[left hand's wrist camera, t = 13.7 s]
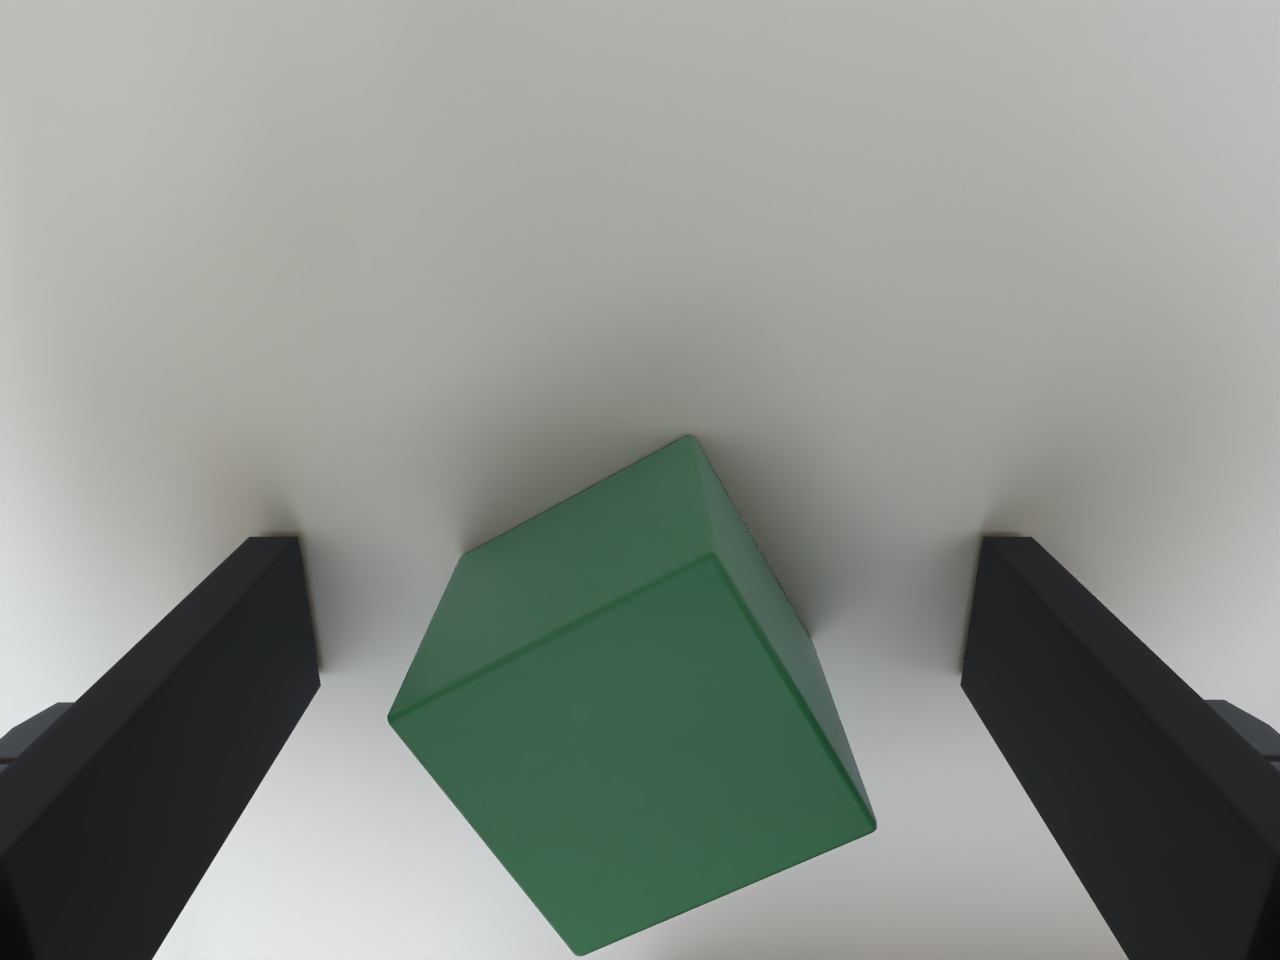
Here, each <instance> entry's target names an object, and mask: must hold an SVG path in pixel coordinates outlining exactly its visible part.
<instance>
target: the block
mask: <svg viewBox="0 0 1280 960" xmlns="http://www.w3.org/2000/svg"><path fill="white" fill-rule="evenodd" d="M388 722H389V724H390V725H391V727H392V728H393V729H394V730H395V732H396V733H397V734H398V735H399V737H400V738H401V739H402V740H403V742H404V743H405V744H406V745H407V747H408V748H409V749H410V750H411V752H412V753H413V754H414V755H415V757H416V758H417V759H418V760H419V761H420V763H421V764H422V765H423V766H424V768H425V769H426V770H427V771H428V773H429V774H430V775H431V776H432V778H433V779H434V780H435V781H436V783H437V784H438V785H439V786H440V788H441V789H442V790H443V791H444V793H445V794H446V795H447V796H448V798H449V799H450V800H451V801H452V802H453V804H454V805H455V806H456V807H457V809H458V810H459V811H460V812H461V814H462V815H463V816H464V817H465V819H466V820H467V821H468V822H469V824H470V825H471V826H472V827H473V829H474V830H475V831H476V832H477V834H478V835H479V836H480V837H481V839H482V840H483V841H484V842H485V843H486V845H487V846H488V847H489V848H490V850H491V851H492V852H493V853H494V855H495V856H496V857H497V858H498V860H499V861H500V862H501V863H502V865H503V866H504V867H505V868H506V870H507V871H508V872H509V873H510V875H511V876H512V877H513V878H514V880H515V881H516V882H517V883H518V884H519V886H520V887H521V888H522V889H523V891H524V892H525V893H526V894H527V896H528V897H529V898H530V899H531V901H532V902H533V903H534V904H535V906H536V907H537V908H538V909H539V911H540V912H541V913H542V914H543V916H544V917H545V918H546V919H547V921H548V922H549V923H550V924H551V925H552V927H553V928H554V929H555V930H556V932H557V933H558V934H559V935H560V937H561V938H562V939H563V940H564V942H565V943H566V944H567V945H568V947H569V948H570V949H571V950H572V952H573V953H574V954H575V955H577V956H583V955H586V954H588V953H591V952H593V951H595V950H598V949H600V948H602V947H605V946H607V945H609V944H612V943H614V942H616V941H619V940H621V939H623V938H626V937H628V936H630V935H633V934H635V933H638V932H640V931H642V930H645V929H647V928H649V927H652V926H654V925H656V924H659V923H661V922H663V921H666V920H668V919H670V918H673V917H675V916H677V915H680V914H682V913H684V912H687V911H689V910H692V909H694V908H696V907H699V906H701V905H703V904H706V903H708V902H710V901H713V900H715V899H717V898H720V897H722V896H724V895H727V894H729V893H731V892H734V891H736V890H739V889H741V888H743V887H746V886H748V885H750V884H753V883H755V882H757V881H760V880H762V879H764V878H767V877H769V876H771V875H774V874H776V873H778V872H781V871H783V870H786V869H788V868H790V867H793V866H795V865H797V864H800V863H802V862H804V861H807V860H809V859H811V858H814V857H816V856H818V855H821V854H823V853H825V852H828V851H830V850H833V849H835V848H837V847H840V846H842V845H844V844H847V843H849V842H851V841H854V840H856V839H858V838H861V837H863V836H865V835H868V834H870V833H872V832H874V831H875V830H876V828H877V822H876V818H875V816H874V813H873V810H872V807H871V804H870V802H869V799H868V796H867V793H866V790H865V788H864V785H863V782H862V779H861V776H860V774H859V771H858V768H857V765H856V762H855V760H854V757H853V754H852V751H851V748H850V746H849V743H848V740H847V737H846V735H845V732H844V729H843V726H842V723H841V721H840V718H839V715H838V712H837V709H836V707H835V704H834V701H833V698H832V695H831V693H830V690H829V687H828V684H827V681H826V679H825V676H824V673H823V670H822V667H821V665H820V662H819V659H818V656H817V653H816V651H815V648H814V645H813V642H812V640H811V639H810V637H809V635H808V633H807V632H806V630H805V628H804V626H803V625H802V623H801V621H800V619H799V618H798V616H797V614H796V612H795V611H794V609H793V607H792V605H791V604H790V602H789V600H788V598H787V597H786V595H785V593H784V591H783V590H782V588H781V586H780V584H779V583H778V581H777V579H776V578H775V576H774V574H773V572H772V571H771V569H770V567H769V565H768V564H767V562H766V560H765V558H764V557H763V555H762V553H761V551H760V550H759V548H758V546H757V544H756V543H755V541H754V539H753V537H752V536H751V534H750V532H749V530H748V529H747V527H746V525H745V523H744V522H743V520H742V518H741V516H740V515H739V513H738V511H737V509H736V508H735V506H734V504H733V502H732V501H731V499H730V497H729V495H728V494H727V492H726V490H725V488H724V487H723V485H722V483H721V481H720V480H719V478H718V476H717V474H716V473H715V471H714V469H713V467H712V466H711V464H710V462H709V460H708V459H707V457H706V455H705V453H704V452H703V450H702V448H701V446H700V445H699V443H698V441H697V440H696V438H695V437H694V436H692V435H687V436H685V437H683V438H681V439H679V440H678V441H676V442H674V443H672V444H670V445H668V446H666V447H664V448H663V449H661V450H659V451H657V452H655V453H653V454H651V455H650V456H648V457H646V458H644V459H642V460H640V461H638V462H637V463H635V464H633V465H631V466H629V467H627V468H625V469H624V470H622V471H620V472H618V473H616V474H614V475H612V476H610V477H609V478H607V479H605V480H603V481H601V482H599V483H597V484H596V485H594V486H592V487H590V488H588V489H586V490H584V491H583V492H581V493H579V494H577V495H575V496H573V497H571V498H570V499H568V500H566V501H564V502H562V503H560V504H558V505H557V506H555V507H553V508H551V509H549V510H547V511H545V512H543V513H542V514H540V515H538V516H536V517H534V518H532V519H530V520H529V521H527V522H525V523H523V524H521V525H519V526H517V527H516V528H514V529H512V530H510V531H508V532H506V533H504V534H503V535H501V536H499V537H497V538H495V539H493V540H491V541H490V542H488V543H486V544H484V545H482V546H480V547H478V548H476V549H475V550H473V551H471V552H469V553H467V554H465V555H463V556H462V557H461V558H460V559H459V561H458V564H457V566H456V568H455V570H454V572H453V574H452V577H451V579H450V581H449V583H448V585H447V588H446V590H445V592H444V594H443V596H442V598H441V601H440V603H439V605H438V607H437V609H436V612H435V614H434V616H433V618H432V620H431V622H430V625H429V627H428V629H427V631H426V633H425V636H424V638H423V640H422V642H421V644H420V646H419V649H418V651H417V653H416V655H415V657H414V659H413V662H412V664H411V666H410V668H409V670H408V673H407V675H406V677H405V679H404V681H403V683H402V686H401V688H400V690H399V692H398V694H397V697H396V699H395V701H394V703H393V705H392V707H391V710H390V712H389V714H388Z"/></svg>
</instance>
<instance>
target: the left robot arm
mask: <svg viewBox="0 0 1280 960" xmlns="http://www.w3.org/2000/svg"><path fill="white" fill-rule="evenodd" d="M320 686H321V685H320V678H319V672H318V665H317V659H316V652H315V646H314V639H313V633H312V626H311V620H310V613H309V607H308V600H307V593H306V587H305V580H304V574H303V567H302V561H301V554H300V548H299V541H298V537H249V538H248V539H247V540H246V541H245V542H244V543H243V544H241V545H240V546H239V547H238V548H237V549H236V550H235V551H234V552H233V553H232V554H231V555H230V556H229V557H228V558H227V559H226V560H225V561H224V562H222V563H221V564H220V565H219V566H218V567H217V568H216V569H215V570H214V571H213V572H212V573H211V574H210V575H209V576H208V577H207V578H206V579H205V580H203V581H202V582H201V583H200V584H199V585H198V586H197V587H196V588H195V589H194V590H193V591H192V592H191V593H190V594H189V595H188V596H187V597H186V598H184V599H183V600H182V601H181V602H180V603H179V604H178V605H177V606H176V607H175V608H174V609H173V610H172V611H171V612H170V613H169V614H168V615H167V616H165V617H164V618H163V619H162V620H161V621H160V622H159V623H158V624H157V625H156V626H155V627H154V628H153V629H152V630H151V631H150V632H149V633H148V634H146V635H145V636H144V637H143V638H142V639H141V640H140V641H139V642H138V643H137V644H136V645H135V646H134V647H133V648H132V649H131V650H130V651H129V652H127V653H126V654H125V655H124V656H123V657H122V658H121V659H120V660H119V661H118V662H117V663H116V664H115V665H114V666H113V667H112V668H111V669H110V670H109V671H107V672H106V673H105V674H104V675H103V676H102V677H101V678H100V679H99V680H98V681H97V682H96V683H95V684H94V685H93V686H92V687H91V688H90V689H88V690H87V691H86V692H85V693H84V694H83V695H82V696H81V697H80V698H79V699H78V700H77V701H76V702H75V703H56V704H54V705H53V706H51V707H49V708H47V709H46V710H44V711H42V712H40V713H39V714H37V715H35V716H33V717H31V718H30V719H28V720H26V721H24V722H23V723H21V724H19V725H17V726H16V727H14V728H12V729H11V730H10V731H9V732H8V733H7V734H6V735H4V736H3V737H2V738H1V739H0V960H152V959H153V957H154V955H155V954H156V952H157V950H158V949H159V947H160V946H161V944H162V942H163V941H164V939H165V937H166V936H167V934H168V933H169V931H170V929H171V928H172V926H173V924H174V923H175V921H176V920H177V918H178V916H179V915H180V913H181V911H182V910H183V908H184V907H185V905H186V903H187V902H188V900H189V898H190V897H191V895H192V894H193V892H194V890H195V889H196V887H197V885H198V884H199V882H200V881H201V879H202V877H203V876H204V874H205V872H206V871H207V869H208V868H209V866H210V864H211V863H212V861H213V859H214V858H215V856H216V855H217V853H218V851H219V850H220V848H221V846H222V845H223V843H224V842H225V840H226V838H227V837H228V835H229V833H230V832H231V830H232V829H233V827H234V825H235V824H236V822H237V820H238V819H239V817H240V816H241V814H242V812H243V811H244V809H245V808H246V806H247V804H248V803H249V801H250V799H251V798H252V796H253V795H254V793H255V791H256V790H257V788H258V786H259V785H260V783H261V782H262V780H263V778H264V777H265V775H266V773H267V772H268V770H269V769H270V767H271V765H272V764H273V762H274V760H275V759H276V757H277V756H278V754H279V752H280V751H281V749H282V747H283V746H284V744H285V743H286V741H287V739H288V738H289V736H290V734H291V733H292V731H293V730H294V728H295V726H296V725H297V723H298V721H299V720H300V718H301V717H302V715H303V713H304V712H305V710H306V708H307V707H308V705H309V704H310V702H311V700H312V699H313V697H314V695H315V694H316V692H317V691H318V689H319V687H320ZM960 686H961V687H962V689H963V691H964V692H965V694H966V695H967V697H968V699H969V700H970V702H971V704H972V705H973V707H974V708H975V710H976V712H977V713H978V715H979V717H980V718H981V720H982V721H983V723H984V725H985V726H986V728H987V730H988V731H989V733H990V734H991V736H992V738H993V739H994V741H995V743H996V744H997V746H998V747H999V749H1000V751H1001V752H1002V754H1003V756H1004V757H1005V759H1006V760H1007V762H1008V764H1009V765H1010V767H1011V769H1012V770H1013V772H1014V773H1015V775H1016V777H1017V778H1018V780H1019V782H1020V783H1021V785H1022V786H1023V788H1024V790H1025V791H1026V793H1027V794H1028V796H1029V798H1030V799H1031V801H1032V803H1033V804H1034V806H1035V807H1036V809H1037V811H1038V812H1039V814H1040V816H1041V817H1042V819H1043V820H1044V822H1045V824H1046V825H1047V827H1048V829H1049V830H1050V832H1051V833H1052V835H1053V837H1054V838H1055V840H1056V842H1057V843H1058V845H1059V846H1060V848H1061V850H1062V851H1063V853H1064V855H1065V856H1066V858H1067V859H1068V861H1069V863H1070V864H1071V866H1072V868H1073V869H1074V871H1075V872H1076V874H1077V876H1078V877H1079V879H1080V881H1081V882H1082V884H1083V885H1084V887H1085V889H1086V890H1087V892H1088V894H1089V895H1090V897H1091V898H1092V900H1093V902H1094V903H1095V905H1096V907H1097V908H1098V910H1099V911H1100V913H1101V915H1102V916H1103V918H1104V920H1105V921H1106V923H1107V924H1108V926H1109V928H1110V929H1111V931H1112V933H1113V934H1114V936H1115V937H1116V939H1117V941H1118V942H1119V944H1120V946H1121V947H1122V949H1123V950H1124V952H1125V954H1126V955H1127V957H1128V959H1129V960H1280V734H1279V733H1278V732H1276V731H1275V730H1274V729H1273V728H1272V727H1271V726H1270V725H1268V724H1266V723H1264V722H1262V721H1261V720H1259V719H1257V718H1255V717H1254V716H1252V715H1250V714H1248V713H1247V712H1245V711H1243V710H1241V709H1239V708H1238V707H1236V706H1234V705H1232V704H1231V703H1229V702H1227V701H1225V700H1203V699H1202V698H1201V697H1200V696H1199V695H1198V694H1197V693H1196V692H1195V691H1194V690H1193V689H1192V688H1191V687H1189V686H1188V685H1187V684H1186V683H1185V682H1184V681H1183V680H1182V679H1181V678H1180V677H1179V676H1178V675H1177V674H1176V673H1175V672H1174V671H1173V670H1172V669H1170V668H1169V667H1168V666H1167V665H1166V664H1165V663H1164V662H1163V661H1162V660H1161V659H1160V658H1159V657H1158V656H1157V655H1156V654H1155V653H1154V652H1153V651H1151V650H1150V649H1149V648H1148V647H1147V646H1146V645H1145V644H1144V643H1143V642H1142V641H1141V640H1140V639H1139V638H1138V637H1137V636H1136V635H1135V634H1134V633H1132V632H1131V631H1130V630H1129V629H1128V628H1127V627H1126V626H1125V625H1124V624H1123V623H1122V622H1121V621H1120V620H1119V619H1118V618H1117V617H1116V616H1115V615H1113V614H1112V613H1111V612H1110V611H1109V610H1108V609H1107V608H1106V607H1105V606H1104V605H1103V604H1102V603H1101V602H1100V601H1099V600H1098V599H1097V598H1096V597H1094V596H1093V595H1092V594H1091V593H1090V592H1089V591H1088V590H1087V589H1086V588H1085V587H1084V586H1083V585H1082V584H1081V583H1080V582H1079V581H1078V580H1077V579H1075V578H1074V577H1073V576H1072V575H1071V574H1070V573H1069V572H1068V571H1067V570H1066V569H1065V568H1064V567H1063V566H1062V565H1061V564H1060V563H1059V562H1058V561H1056V560H1055V559H1054V558H1053V557H1052V556H1051V555H1050V554H1049V553H1048V552H1047V551H1046V550H1045V549H1044V548H1043V547H1042V546H1041V545H1040V544H1039V543H1037V542H1036V541H1035V540H1034V539H1033V538H1032V537H983V542H982V549H981V555H980V562H979V568H978V575H977V581H976V588H975V594H974V601H973V607H972V614H971V620H970V627H969V633H968V640H967V646H966V653H965V659H964V666H963V672H962V679H961V685H960Z"/></svg>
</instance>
